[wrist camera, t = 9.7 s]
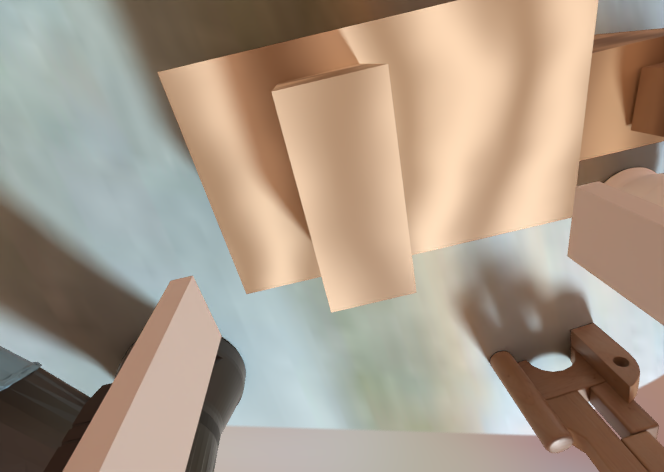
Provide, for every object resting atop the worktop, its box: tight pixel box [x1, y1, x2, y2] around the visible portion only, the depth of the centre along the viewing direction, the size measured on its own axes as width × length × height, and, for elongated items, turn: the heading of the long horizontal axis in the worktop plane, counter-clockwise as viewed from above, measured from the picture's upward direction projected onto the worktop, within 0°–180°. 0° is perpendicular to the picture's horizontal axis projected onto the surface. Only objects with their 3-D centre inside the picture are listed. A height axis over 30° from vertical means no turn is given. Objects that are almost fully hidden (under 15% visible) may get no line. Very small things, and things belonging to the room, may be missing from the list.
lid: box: [158, 0, 598, 313], centre depth 21 cm, size 26×16×8 cm, turn 102°
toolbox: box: [580, 28, 664, 161], centre depth 29 cm, size 34×16×12 cm, turn 102°
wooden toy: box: [490, 323, 664, 472], centre depth 39 cm, size 16×7×25 cm, turn 108°
